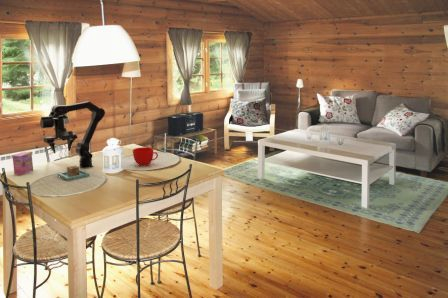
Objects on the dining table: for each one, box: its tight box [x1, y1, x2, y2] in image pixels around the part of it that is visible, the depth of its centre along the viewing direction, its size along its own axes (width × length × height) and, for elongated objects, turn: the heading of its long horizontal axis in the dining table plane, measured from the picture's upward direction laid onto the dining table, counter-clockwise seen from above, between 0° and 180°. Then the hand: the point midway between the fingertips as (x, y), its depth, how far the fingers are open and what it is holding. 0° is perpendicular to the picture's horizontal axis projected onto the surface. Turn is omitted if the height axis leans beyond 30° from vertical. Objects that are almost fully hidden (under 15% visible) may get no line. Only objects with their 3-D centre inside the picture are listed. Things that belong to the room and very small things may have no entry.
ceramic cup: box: [132, 146, 159, 166], centre depth 270 cm, size 13×17×10 cm
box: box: [12, 151, 34, 176], centre depth 254 cm, size 10×6×12 cm, turn 168°
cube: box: [66, 165, 80, 177], centre depth 246 cm, size 5×5×5 cm
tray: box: [57, 168, 90, 182], centre depth 246 cm, size 13×13×2 cm
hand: (62, 152), depth 256 cm, fingers open, 9 cm apart
